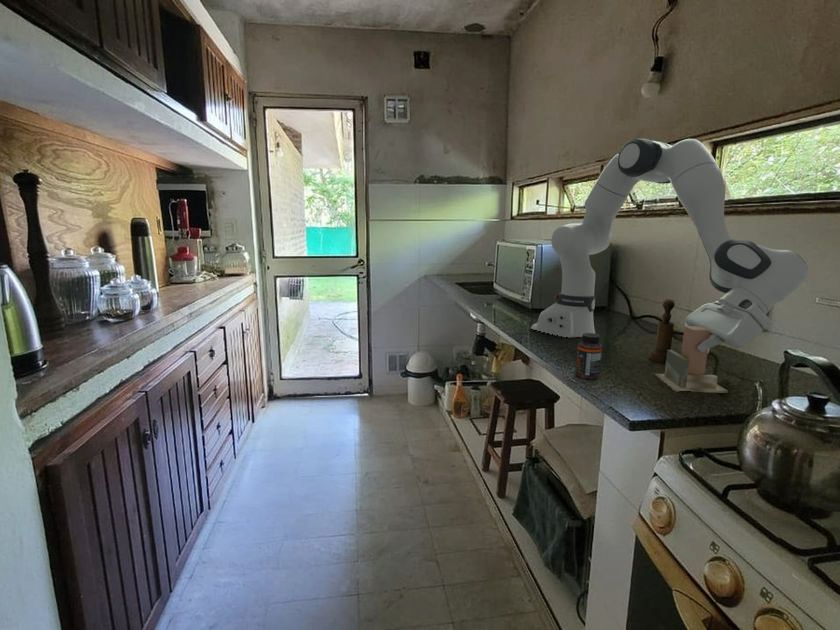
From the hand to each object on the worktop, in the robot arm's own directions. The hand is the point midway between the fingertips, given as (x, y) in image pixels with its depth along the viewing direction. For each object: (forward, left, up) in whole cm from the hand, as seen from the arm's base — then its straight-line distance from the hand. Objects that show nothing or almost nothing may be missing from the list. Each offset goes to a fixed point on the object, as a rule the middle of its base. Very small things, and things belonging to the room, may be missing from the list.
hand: (692, 346), depth 108 cm
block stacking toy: (0, 0, -10) cm, 10 cm away
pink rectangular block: (+1, 0, -6) cm, 6 cm away
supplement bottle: (-22, -10, -10) cm, 26 cm away
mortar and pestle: (-9, +18, -10) cm, 23 cm away
